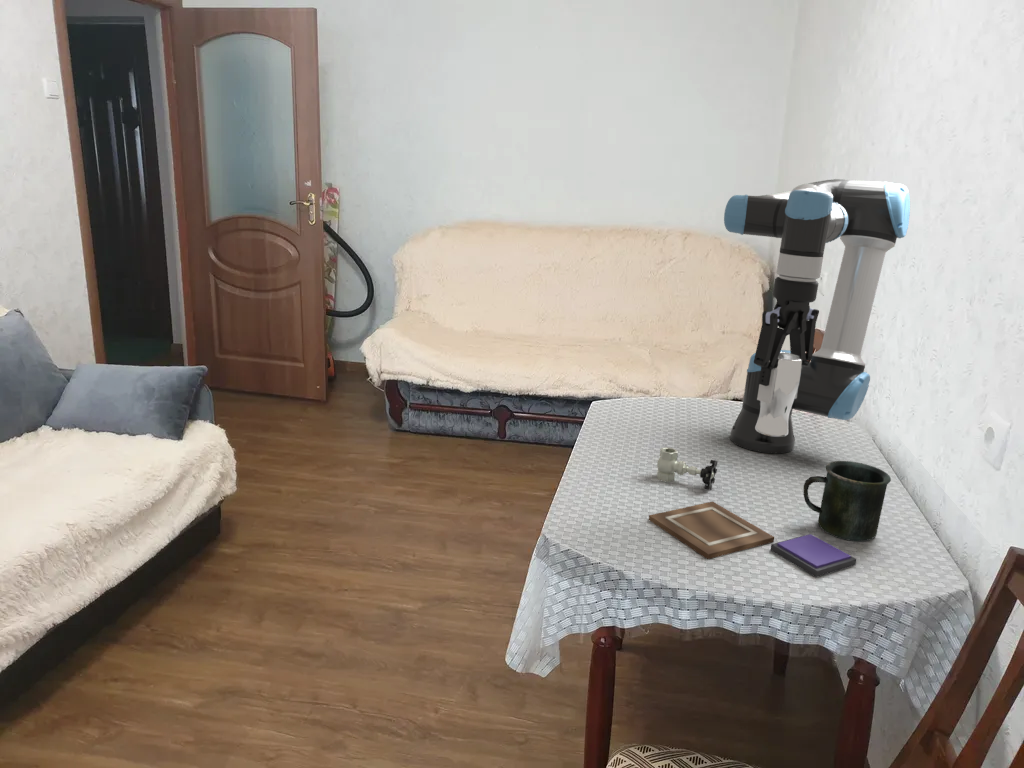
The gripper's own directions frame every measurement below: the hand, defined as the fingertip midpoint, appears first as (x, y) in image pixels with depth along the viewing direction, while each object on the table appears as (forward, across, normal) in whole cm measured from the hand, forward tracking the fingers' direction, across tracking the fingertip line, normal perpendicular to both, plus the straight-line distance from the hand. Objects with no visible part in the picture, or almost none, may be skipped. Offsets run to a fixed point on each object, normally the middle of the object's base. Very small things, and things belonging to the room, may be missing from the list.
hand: (776, 398), depth 146 cm
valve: (+24, +3, -17) cm, 29 cm away
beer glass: (+7, 0, 0) cm, 7 cm away
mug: (+23, -8, +12) cm, 28 cm away
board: (+23, +16, +1) cm, 28 cm away
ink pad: (+23, +7, +17) cm, 30 cm away
